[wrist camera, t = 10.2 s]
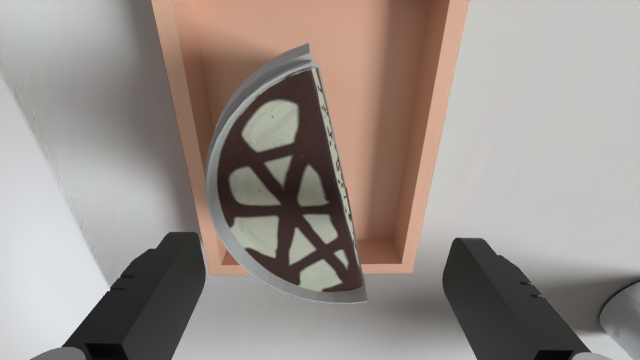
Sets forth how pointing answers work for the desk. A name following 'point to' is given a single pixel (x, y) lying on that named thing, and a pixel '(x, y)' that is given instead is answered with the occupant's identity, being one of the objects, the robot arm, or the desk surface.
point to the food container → (284, 185)
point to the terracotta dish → (342, 96)
